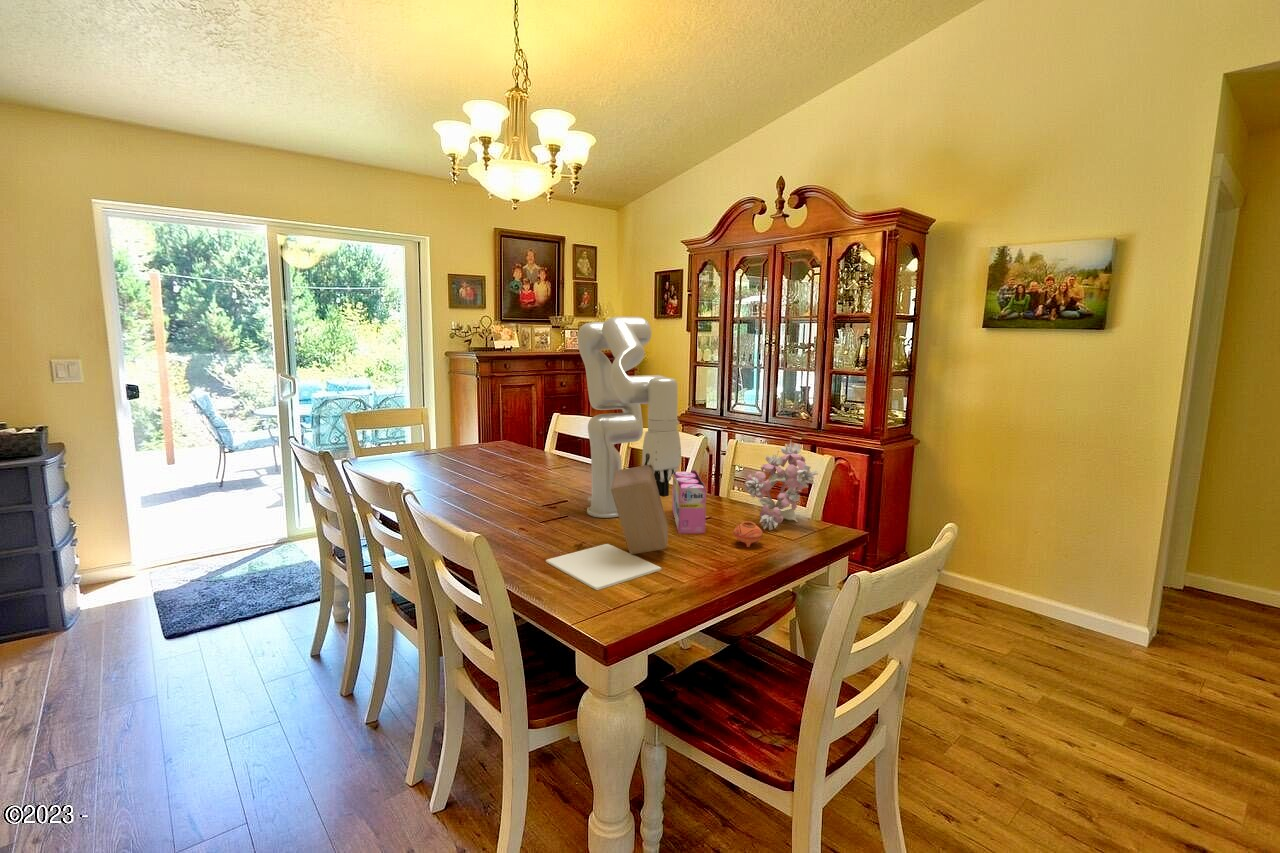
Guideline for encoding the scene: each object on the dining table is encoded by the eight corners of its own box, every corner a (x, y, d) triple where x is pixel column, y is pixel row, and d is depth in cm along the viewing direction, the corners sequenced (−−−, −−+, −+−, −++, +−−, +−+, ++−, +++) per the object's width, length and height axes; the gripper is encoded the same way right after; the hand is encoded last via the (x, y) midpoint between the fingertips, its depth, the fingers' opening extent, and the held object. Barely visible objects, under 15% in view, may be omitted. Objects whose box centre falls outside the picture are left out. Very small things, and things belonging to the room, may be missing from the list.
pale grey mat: (545, 562, 153) (545, 559, 152) (607, 545, 164) (607, 543, 164) (596, 590, 136) (596, 587, 136) (661, 569, 148) (661, 567, 147)
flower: (719, 509, 193) (733, 445, 179) (779, 494, 202) (796, 433, 187) (753, 553, 178) (771, 488, 164) (816, 536, 187) (838, 473, 173)
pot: (751, 536, 171) (755, 515, 169) (765, 551, 164) (770, 529, 162) (725, 538, 168) (730, 517, 166) (739, 554, 162) (743, 532, 159)
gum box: (671, 510, 198) (671, 469, 196) (695, 509, 198) (696, 468, 196) (678, 534, 174) (678, 487, 172) (706, 533, 175) (706, 487, 173)
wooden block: (669, 528, 163) (651, 462, 156) (667, 550, 154) (649, 480, 146) (632, 534, 164) (613, 469, 157) (629, 556, 155) (609, 488, 148)
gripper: (674, 421, 165) (673, 488, 167) (630, 427, 155) (631, 497, 158) (693, 424, 159) (693, 493, 162) (650, 430, 149) (650, 503, 152)
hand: (662, 495), depth 160 cm, fingers closed
